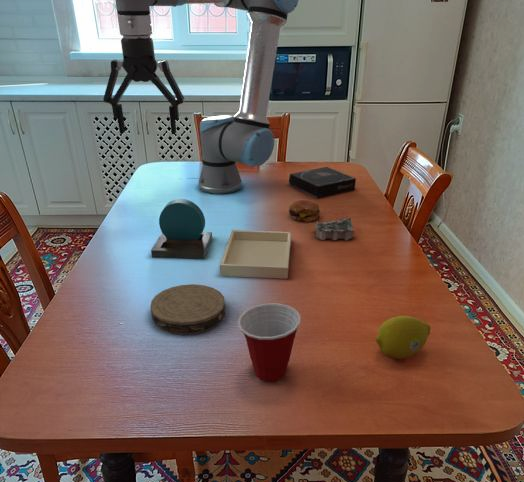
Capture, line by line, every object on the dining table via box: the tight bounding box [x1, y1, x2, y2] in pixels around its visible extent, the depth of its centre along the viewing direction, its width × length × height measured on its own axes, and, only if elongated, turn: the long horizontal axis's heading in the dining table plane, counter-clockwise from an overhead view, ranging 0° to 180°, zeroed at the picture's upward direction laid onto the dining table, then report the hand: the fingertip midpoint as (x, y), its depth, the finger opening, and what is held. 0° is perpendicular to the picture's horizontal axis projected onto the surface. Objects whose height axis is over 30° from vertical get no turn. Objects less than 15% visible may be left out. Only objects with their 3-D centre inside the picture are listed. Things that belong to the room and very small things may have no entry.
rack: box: [150, 231, 213, 260], centre depth 133 cm, size 14×13×2 cm
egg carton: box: [315, 217, 355, 241], centre depth 139 cm, size 11×8×4 cm
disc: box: [158, 198, 206, 240], centre depth 132 cm, size 12×3×12 cm, turn 85°
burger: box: [288, 198, 321, 223], centre depth 150 cm, size 10×9×5 cm
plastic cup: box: [237, 302, 302, 383], centre depth 87 cm, size 11×11×12 cm
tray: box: [219, 229, 292, 280], centre depth 128 cm, size 22×17×3 cm
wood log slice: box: [150, 283, 227, 336], centre depth 105 cm, size 16×16×3 cm
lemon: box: [375, 315, 431, 360], centre depth 92 cm, size 11×8×8 cm
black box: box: [288, 166, 357, 199], centre depth 173 cm, size 16×17×4 cm
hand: (148, 132), depth 128 cm, fingers open, 13 cm apart
